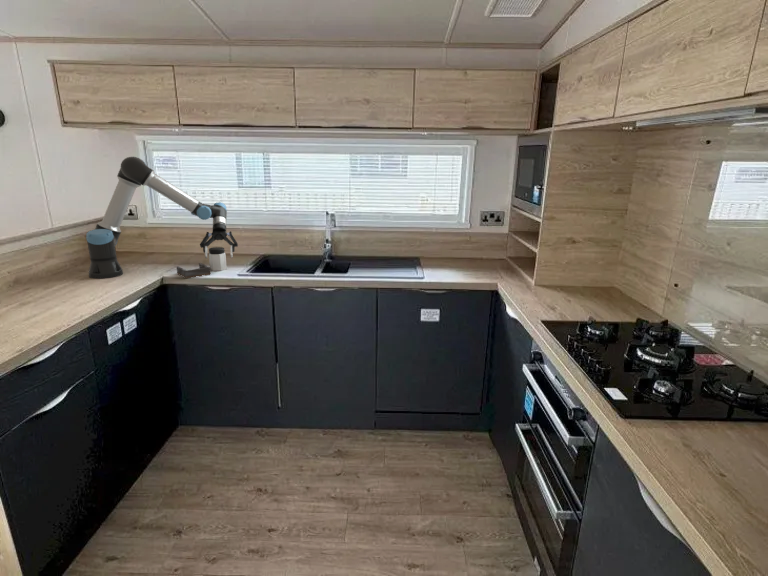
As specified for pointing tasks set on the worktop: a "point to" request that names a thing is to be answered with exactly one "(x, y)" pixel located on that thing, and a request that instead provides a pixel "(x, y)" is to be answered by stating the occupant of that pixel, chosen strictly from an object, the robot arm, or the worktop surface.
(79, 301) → the worktop surface
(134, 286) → the worktop surface
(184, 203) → the robot arm
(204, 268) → the keeper bracket
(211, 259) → the jar
